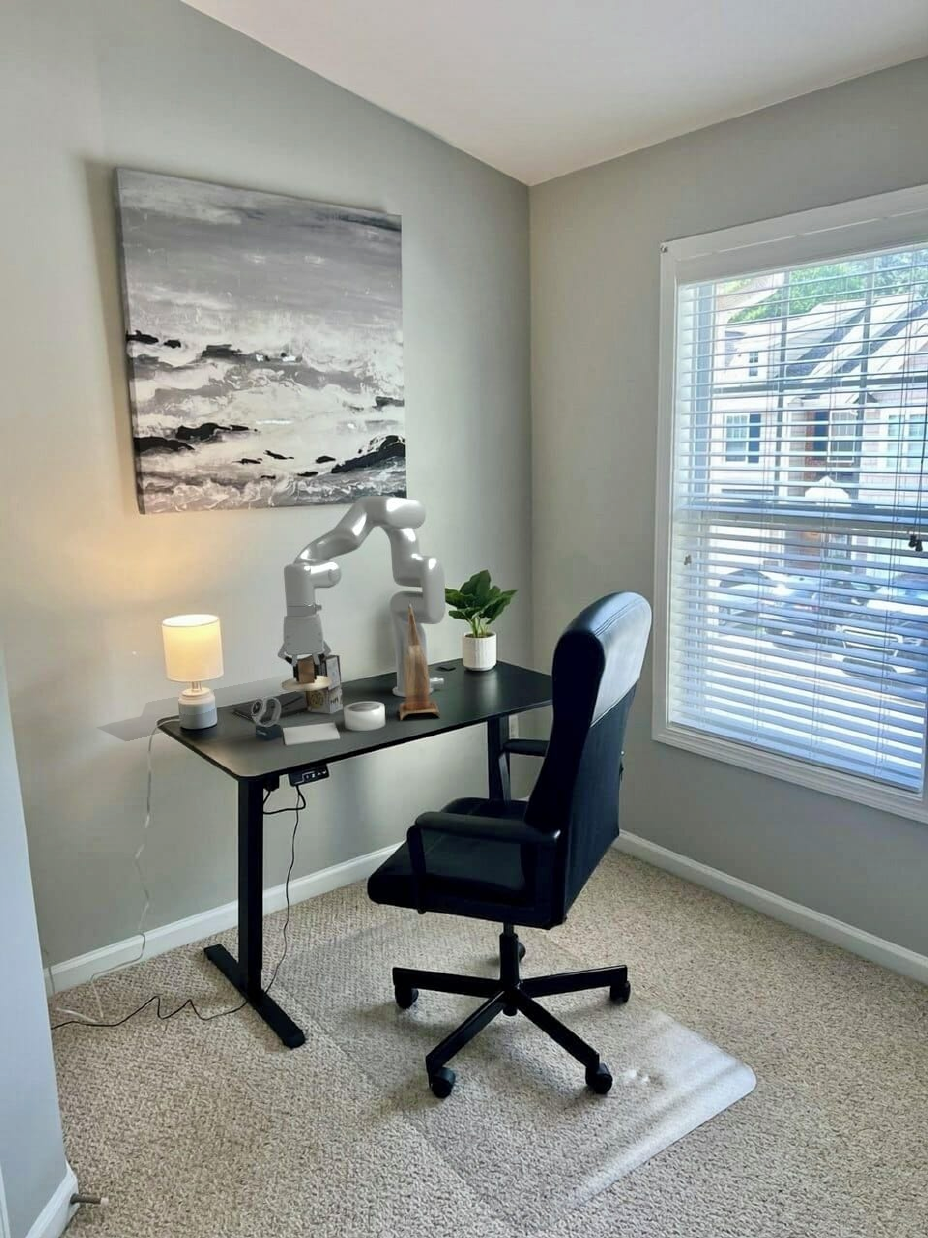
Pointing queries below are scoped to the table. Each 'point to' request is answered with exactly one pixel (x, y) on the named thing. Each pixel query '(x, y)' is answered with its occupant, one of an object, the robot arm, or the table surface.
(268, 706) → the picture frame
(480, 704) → the table surface
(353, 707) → the bowl
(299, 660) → the lid
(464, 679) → the table surface
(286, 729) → the mat
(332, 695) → the coffee box
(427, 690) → the tan tower model
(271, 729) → the watch
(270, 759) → the table surface
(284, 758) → the table surface
